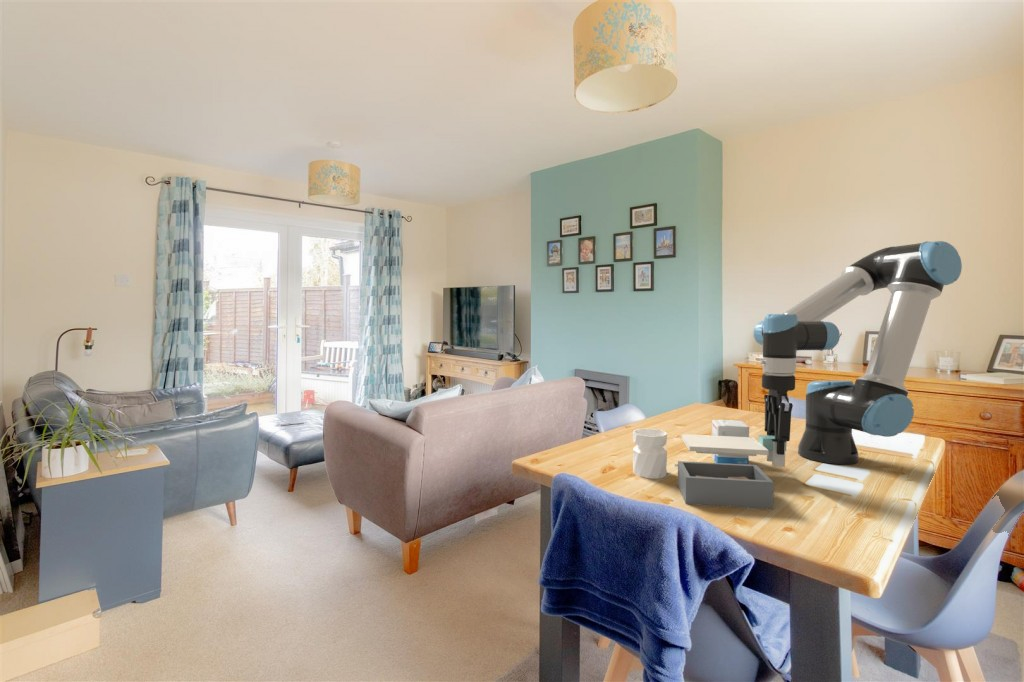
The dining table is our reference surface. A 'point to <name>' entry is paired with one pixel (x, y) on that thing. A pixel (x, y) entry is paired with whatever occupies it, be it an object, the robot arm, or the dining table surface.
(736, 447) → the cream flat block
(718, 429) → the ink box
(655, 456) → the white vase
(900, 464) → the dining table surface
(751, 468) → the tub
